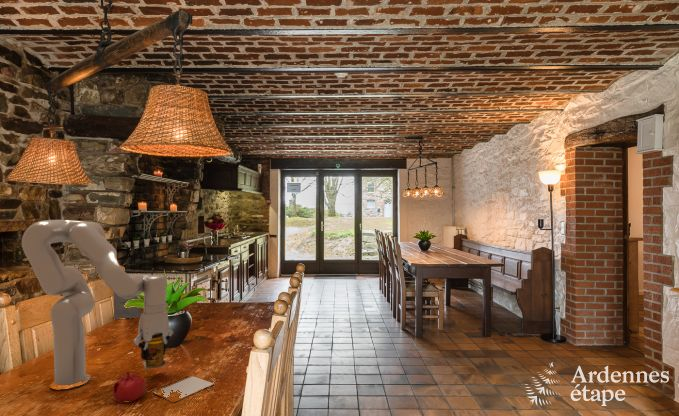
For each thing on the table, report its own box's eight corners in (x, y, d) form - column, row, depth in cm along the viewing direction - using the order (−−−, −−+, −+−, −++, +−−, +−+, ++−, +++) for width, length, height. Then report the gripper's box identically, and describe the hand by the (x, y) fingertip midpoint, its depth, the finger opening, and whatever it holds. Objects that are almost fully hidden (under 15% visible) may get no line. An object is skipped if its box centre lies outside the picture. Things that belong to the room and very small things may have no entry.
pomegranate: (150, 391, 144) (150, 364, 144) (137, 405, 134) (137, 376, 134) (121, 392, 144) (121, 365, 144) (106, 406, 134) (105, 377, 134)
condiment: (145, 370, 150) (146, 336, 150) (142, 362, 158) (143, 330, 158) (166, 366, 154) (167, 334, 154) (163, 359, 162) (163, 328, 162)
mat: (152, 394, 142) (152, 392, 142) (192, 377, 155) (192, 376, 155) (174, 403, 135) (174, 401, 135) (214, 385, 148) (214, 383, 148)
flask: (111, 319, 238) (111, 284, 238) (116, 317, 244) (115, 283, 244) (138, 319, 239) (138, 284, 239) (142, 316, 245) (142, 282, 244)
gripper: (169, 303, 165) (168, 348, 165) (126, 311, 151) (125, 361, 151) (181, 306, 161) (180, 352, 161) (138, 314, 146) (136, 366, 146)
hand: (153, 356), depth 156 cm, fingers closed on condiment, 6 cm apart
